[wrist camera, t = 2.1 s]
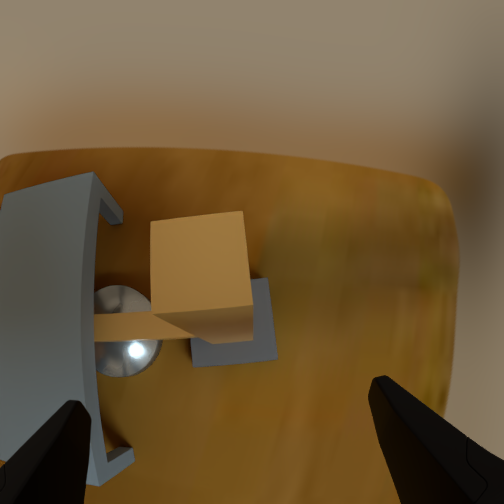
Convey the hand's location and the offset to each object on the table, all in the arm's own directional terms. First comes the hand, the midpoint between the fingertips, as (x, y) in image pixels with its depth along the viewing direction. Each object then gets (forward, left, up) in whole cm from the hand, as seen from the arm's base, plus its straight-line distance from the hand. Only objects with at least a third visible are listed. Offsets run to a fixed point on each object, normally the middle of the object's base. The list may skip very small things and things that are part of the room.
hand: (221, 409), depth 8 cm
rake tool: (+6, 0, -11) cm, 12 cm away
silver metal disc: (+8, +2, -11) cm, 14 cm away
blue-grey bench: (+11, +4, -11) cm, 16 cm away
